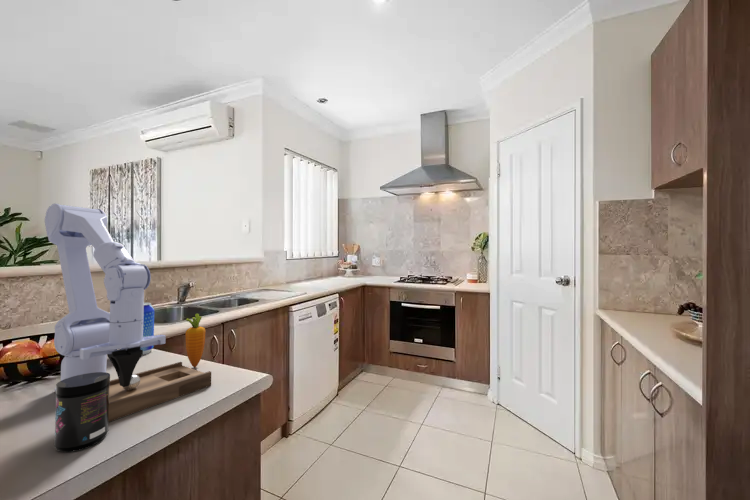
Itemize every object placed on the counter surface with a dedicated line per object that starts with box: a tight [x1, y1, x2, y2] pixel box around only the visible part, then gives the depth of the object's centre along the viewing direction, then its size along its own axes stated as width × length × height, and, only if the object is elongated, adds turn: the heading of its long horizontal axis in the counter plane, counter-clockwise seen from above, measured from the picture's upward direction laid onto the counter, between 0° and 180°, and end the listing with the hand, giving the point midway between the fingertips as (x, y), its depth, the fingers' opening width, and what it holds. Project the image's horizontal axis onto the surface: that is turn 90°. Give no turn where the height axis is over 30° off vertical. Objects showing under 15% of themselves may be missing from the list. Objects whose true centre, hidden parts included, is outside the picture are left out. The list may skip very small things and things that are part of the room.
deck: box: [108, 361, 212, 423], centre depth 71 cm, size 14×21×3 cm, turn 149°
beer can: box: [122, 302, 155, 356], centre depth 102 cm, size 8×8×16 cm
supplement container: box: [53, 371, 111, 453], centre depth 53 cm, size 7×7×10 cm
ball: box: [123, 373, 140, 390], centre depth 68 cm, size 3×3×3 cm
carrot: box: [185, 313, 207, 368], centre depth 89 cm, size 5×5×15 cm
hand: (125, 385), depth 66 cm, fingers closed, pressing on ball
